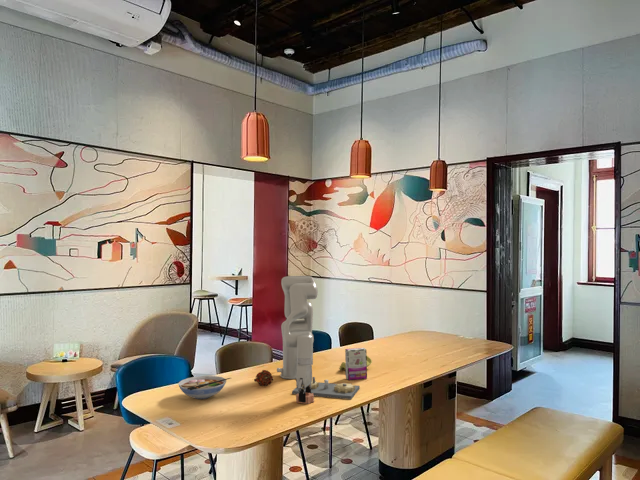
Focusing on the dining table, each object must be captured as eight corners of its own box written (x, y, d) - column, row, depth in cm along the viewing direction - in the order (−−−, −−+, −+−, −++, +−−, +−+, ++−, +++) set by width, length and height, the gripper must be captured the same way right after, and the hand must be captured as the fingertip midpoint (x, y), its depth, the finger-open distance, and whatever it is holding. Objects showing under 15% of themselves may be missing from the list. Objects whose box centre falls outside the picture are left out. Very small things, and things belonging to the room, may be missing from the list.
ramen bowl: (209, 386, 240) (209, 371, 241) (237, 395, 226) (237, 378, 226) (166, 398, 221) (166, 381, 221) (195, 408, 207) (195, 390, 207)
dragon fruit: (270, 391, 238) (257, 389, 246) (280, 378, 243) (266, 377, 252) (261, 379, 235) (248, 378, 244) (271, 367, 240) (258, 366, 249)
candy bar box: (364, 376, 258) (363, 347, 259) (367, 379, 254) (367, 349, 254) (345, 378, 255) (344, 348, 256) (348, 380, 251) (347, 350, 251)
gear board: (292, 393, 228) (292, 380, 228) (304, 384, 245) (304, 371, 245) (351, 399, 218) (351, 385, 219) (359, 388, 236) (359, 375, 236)
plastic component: (353, 370, 264) (341, 360, 270) (349, 381, 266) (338, 370, 272) (375, 362, 277) (363, 352, 284) (371, 372, 280) (360, 362, 286)
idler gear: (294, 402, 214) (294, 396, 214) (299, 398, 221) (299, 391, 221) (311, 404, 212) (311, 397, 212) (315, 399, 218) (315, 393, 218)
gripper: (303, 356, 226) (303, 393, 225) (290, 364, 209) (290, 404, 209) (318, 357, 224) (318, 394, 223) (306, 366, 207) (306, 406, 207)
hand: (305, 399), depth 216 cm, fingers closed on idler gear, 6 cm apart
